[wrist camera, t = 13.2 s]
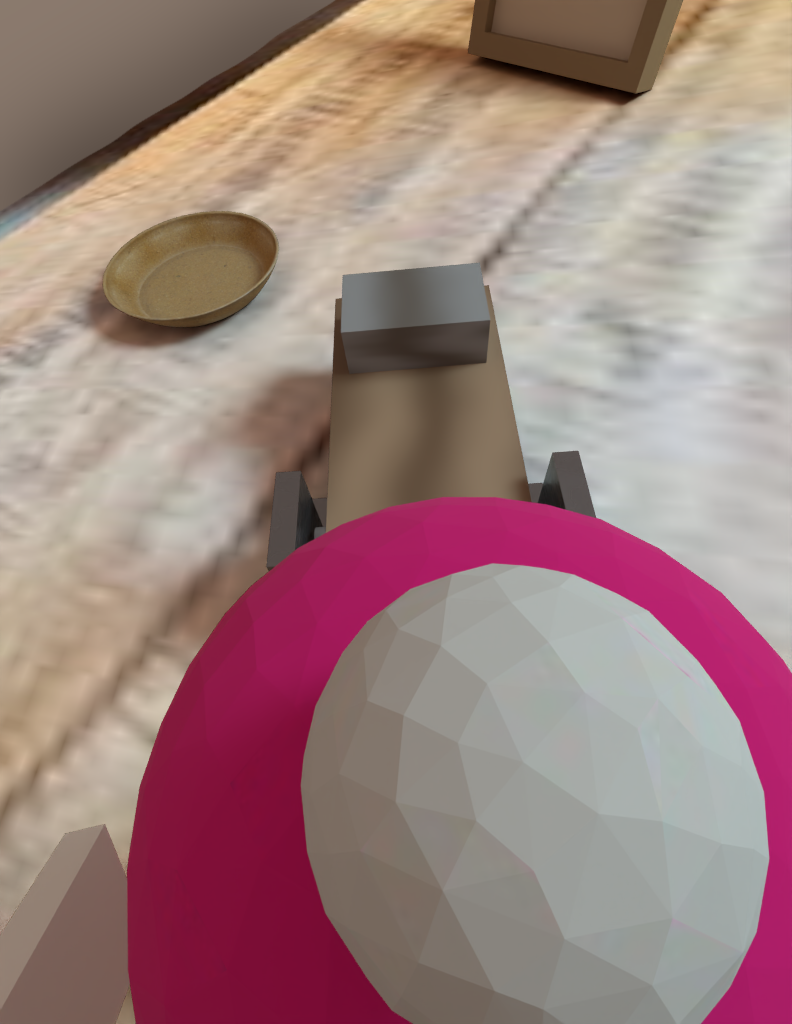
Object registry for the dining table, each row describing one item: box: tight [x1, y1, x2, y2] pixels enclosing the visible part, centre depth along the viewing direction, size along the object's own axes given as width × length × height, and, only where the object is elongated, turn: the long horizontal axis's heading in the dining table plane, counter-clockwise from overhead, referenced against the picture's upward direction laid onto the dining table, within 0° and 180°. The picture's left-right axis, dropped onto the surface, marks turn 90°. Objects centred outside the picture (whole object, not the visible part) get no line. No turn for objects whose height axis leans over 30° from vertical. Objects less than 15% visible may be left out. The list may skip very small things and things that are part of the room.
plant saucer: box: [103, 211, 279, 327], centre depth 45 cm, size 15×15×3 cm
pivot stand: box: [267, 451, 596, 571], centre depth 27 cm, size 14×10×7 cm
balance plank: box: [314, 263, 532, 539], centre depth 24 cm, size 11×35×4 cm, turn 2°
